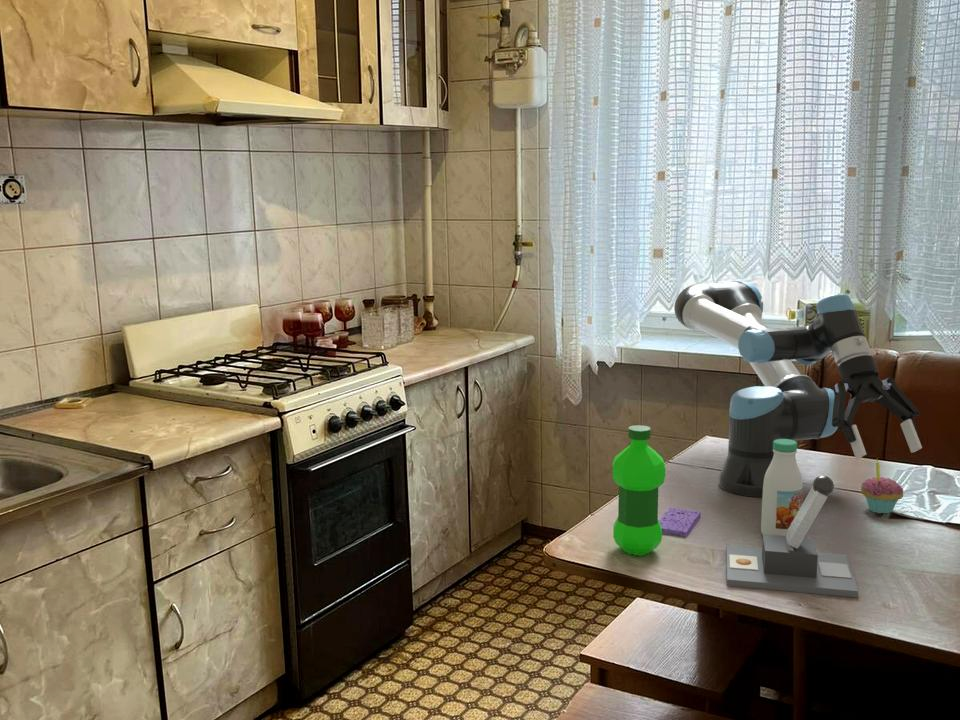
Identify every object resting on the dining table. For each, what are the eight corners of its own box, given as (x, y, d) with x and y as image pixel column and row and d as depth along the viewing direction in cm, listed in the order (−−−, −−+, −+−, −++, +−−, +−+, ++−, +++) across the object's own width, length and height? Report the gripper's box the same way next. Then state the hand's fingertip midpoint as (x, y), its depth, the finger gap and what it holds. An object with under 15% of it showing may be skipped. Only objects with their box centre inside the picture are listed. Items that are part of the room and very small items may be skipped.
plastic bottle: (641, 536, 187) (643, 418, 182) (674, 554, 177) (677, 431, 173) (600, 545, 182) (602, 425, 177) (632, 565, 173) (634, 438, 168)
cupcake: (881, 519, 194) (885, 465, 191) (850, 506, 201) (854, 454, 199) (910, 513, 197) (915, 460, 195) (879, 500, 205) (883, 449, 202)
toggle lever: (799, 539, 170) (835, 476, 166) (802, 551, 164) (839, 486, 160) (781, 530, 170) (817, 468, 166) (783, 542, 165) (820, 477, 161)
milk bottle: (759, 540, 184) (764, 445, 180) (761, 526, 191) (766, 434, 187) (799, 544, 181) (805, 448, 177) (800, 530, 188) (805, 437, 184)
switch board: (845, 560, 173) (847, 530, 172) (857, 597, 158) (860, 564, 157) (726, 550, 179) (727, 521, 178) (727, 585, 164) (728, 553, 162)
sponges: (700, 519, 197) (701, 511, 197) (686, 539, 186) (686, 531, 186) (668, 514, 200) (669, 506, 200) (652, 534, 189) (652, 525, 189)
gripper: (814, 357, 190) (848, 452, 182) (914, 349, 197) (951, 441, 189) (795, 372, 197) (827, 465, 189) (892, 364, 204) (927, 453, 195)
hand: (889, 453), depth 189 cm, fingers open, 13 cm apart
